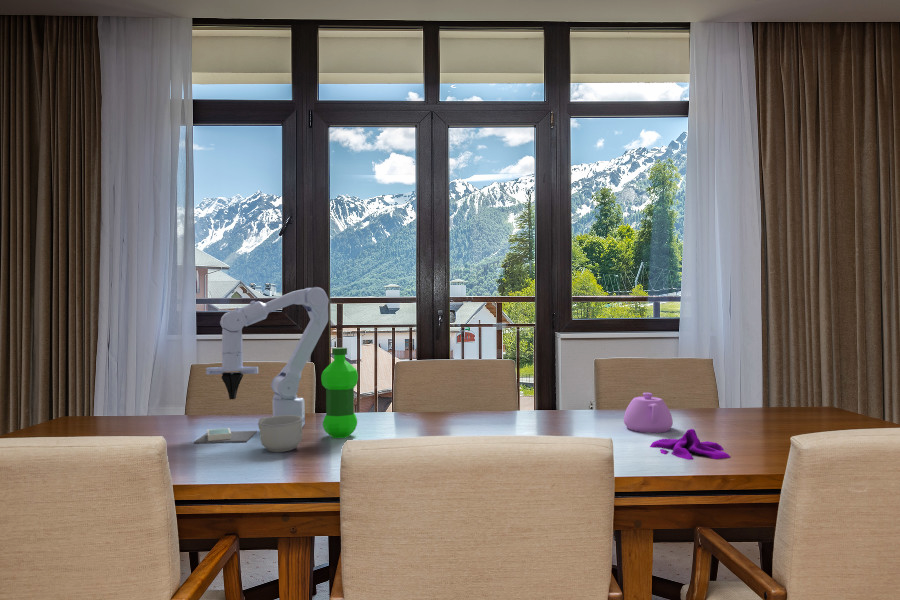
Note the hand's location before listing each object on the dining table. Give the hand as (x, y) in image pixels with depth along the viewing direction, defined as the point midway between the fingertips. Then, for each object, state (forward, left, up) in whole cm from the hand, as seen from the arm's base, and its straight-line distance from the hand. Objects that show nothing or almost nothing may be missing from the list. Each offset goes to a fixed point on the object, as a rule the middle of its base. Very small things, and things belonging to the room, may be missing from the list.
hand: (232, 398), depth 184 cm
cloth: (-121, +38, -11) cm, 127 cm away
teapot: (-122, +9, -10) cm, 123 cm away
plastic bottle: (-32, +9, -10) cm, 35 cm away
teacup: (-17, +22, -10) cm, 30 cm away
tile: (-1, +7, -9) cm, 11 cm away
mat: (0, +7, -10) cm, 12 cm away
